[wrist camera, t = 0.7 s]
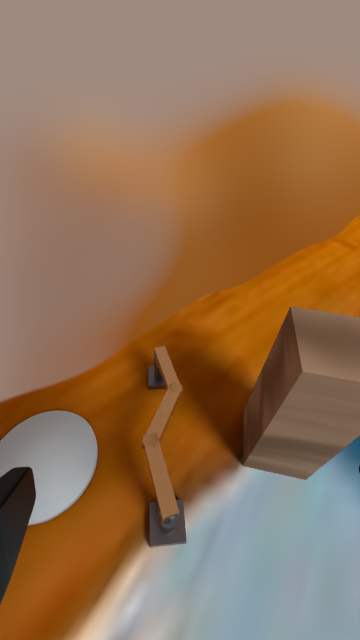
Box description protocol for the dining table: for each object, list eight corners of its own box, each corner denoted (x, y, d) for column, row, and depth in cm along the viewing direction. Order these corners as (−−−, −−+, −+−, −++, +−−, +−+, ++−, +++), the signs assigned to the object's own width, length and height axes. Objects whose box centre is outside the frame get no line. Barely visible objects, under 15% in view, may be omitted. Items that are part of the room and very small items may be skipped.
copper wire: (191, 542, 18) (199, 530, 15) (143, 547, 18) (140, 536, 15) (175, 368, 28) (177, 339, 25) (144, 369, 28) (142, 340, 25)
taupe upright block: (305, 479, 21) (412, 391, 12) (242, 465, 22) (302, 371, 13) (297, 420, 25) (375, 320, 16) (243, 410, 25) (290, 306, 16)
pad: (114, 479, 20) (113, 475, 20) (-3, 556, 17) (-9, 555, 16) (78, 399, 25) (77, 395, 25) (-20, 447, 22) (-25, 443, 21)
